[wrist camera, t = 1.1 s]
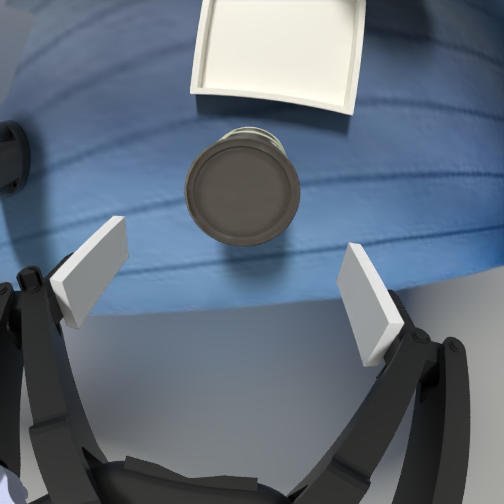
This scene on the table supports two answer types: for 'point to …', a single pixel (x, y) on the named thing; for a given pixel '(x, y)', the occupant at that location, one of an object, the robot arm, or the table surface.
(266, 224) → the coffee can
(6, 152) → the robot arm
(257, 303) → the table surface
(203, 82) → the tray
